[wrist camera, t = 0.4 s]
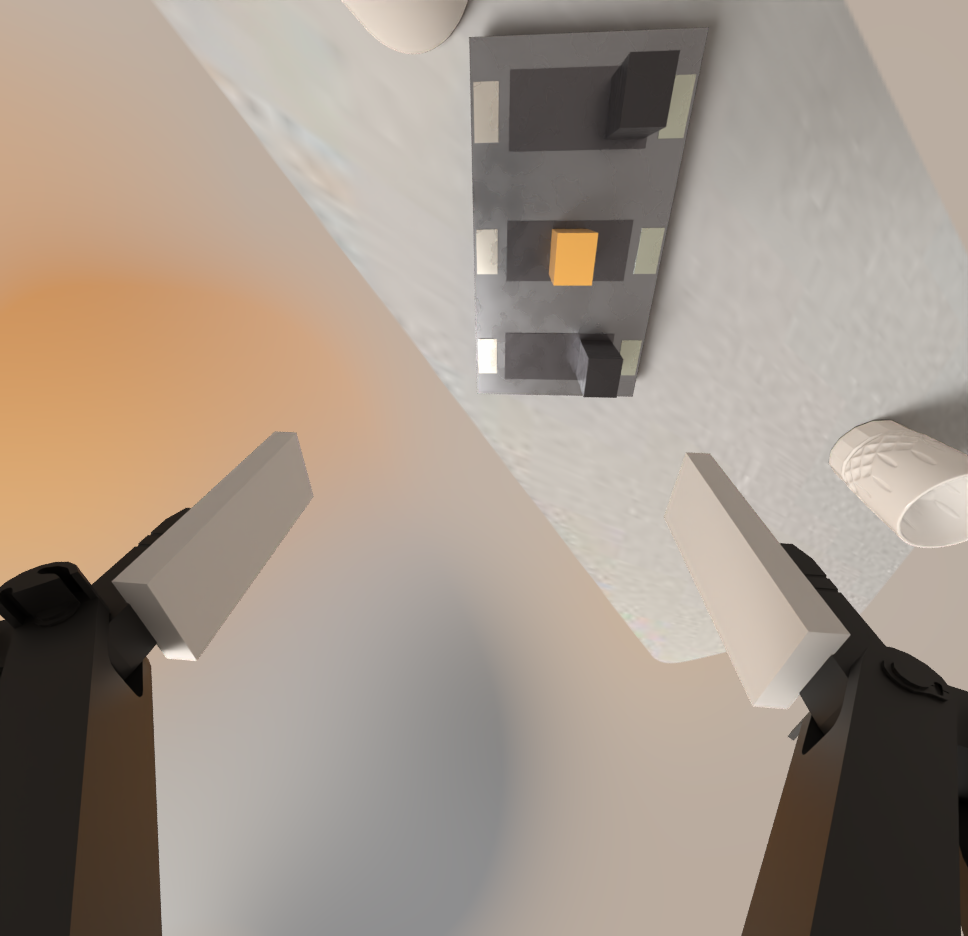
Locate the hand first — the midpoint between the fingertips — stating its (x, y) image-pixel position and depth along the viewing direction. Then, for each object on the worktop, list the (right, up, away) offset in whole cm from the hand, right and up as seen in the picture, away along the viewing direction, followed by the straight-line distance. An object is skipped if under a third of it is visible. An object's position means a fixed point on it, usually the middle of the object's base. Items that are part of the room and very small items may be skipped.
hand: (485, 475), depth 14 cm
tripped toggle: (+6, +16, +16) cm, 24 cm away
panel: (+6, +18, +19) cm, 27 cm away
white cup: (+39, +2, +27) cm, 47 cm away
